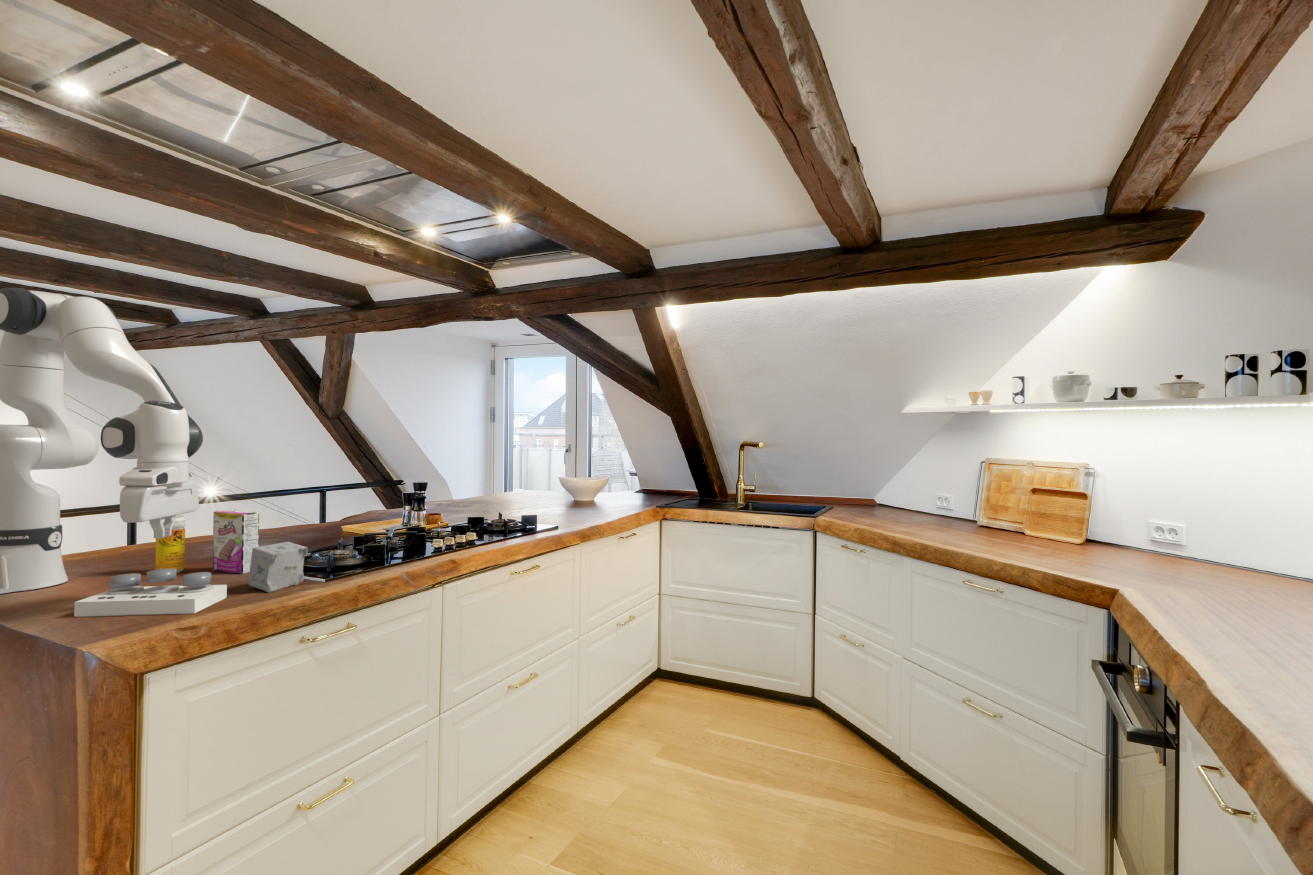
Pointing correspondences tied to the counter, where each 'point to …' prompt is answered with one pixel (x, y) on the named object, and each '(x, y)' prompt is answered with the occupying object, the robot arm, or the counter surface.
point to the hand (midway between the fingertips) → (162, 537)
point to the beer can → (172, 547)
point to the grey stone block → (277, 566)
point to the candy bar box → (234, 540)
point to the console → (150, 600)
